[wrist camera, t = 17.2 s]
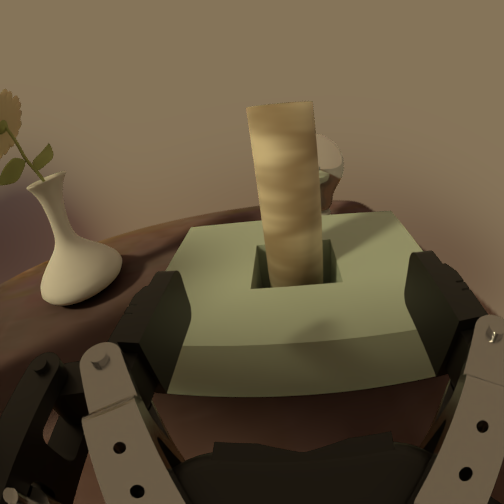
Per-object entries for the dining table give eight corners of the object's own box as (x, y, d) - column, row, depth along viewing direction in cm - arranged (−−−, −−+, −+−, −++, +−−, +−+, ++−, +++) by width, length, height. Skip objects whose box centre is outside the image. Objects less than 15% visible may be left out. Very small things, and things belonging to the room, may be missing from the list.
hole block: (154, 392, 19) (126, 343, 16) (201, 269, 33) (190, 227, 30) (445, 373, 16) (469, 319, 14) (387, 254, 30) (390, 210, 27)
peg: (273, 333, 23) (242, 108, 15) (274, 300, 26) (249, 106, 19) (325, 329, 22) (316, 101, 15) (320, 297, 26) (308, 100, 18)
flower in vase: (88, 259, 39) (41, 91, 27) (144, 265, 35) (94, 58, 23) (25, 312, 29) (-44, 118, 17) (73, 335, 25) (-14, 77, 13)
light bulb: (299, 249, 33) (290, 140, 28) (282, 225, 39) (272, 134, 34) (355, 237, 34) (353, 134, 28) (331, 216, 40) (326, 128, 34)
